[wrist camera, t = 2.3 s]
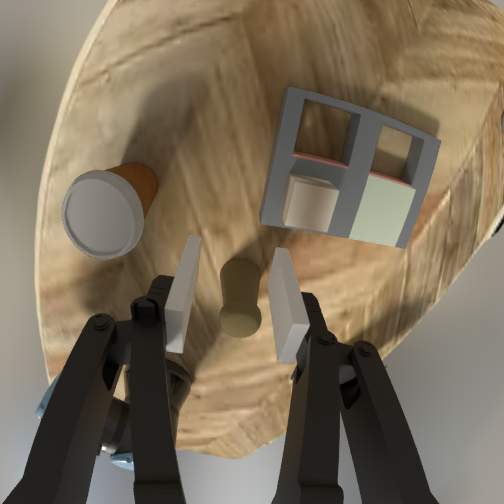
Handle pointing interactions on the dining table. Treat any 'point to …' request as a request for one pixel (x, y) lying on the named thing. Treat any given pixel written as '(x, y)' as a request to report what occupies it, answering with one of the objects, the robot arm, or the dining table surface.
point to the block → (308, 202)
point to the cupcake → (503, 122)
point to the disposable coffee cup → (108, 209)
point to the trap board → (352, 173)
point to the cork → (240, 298)
